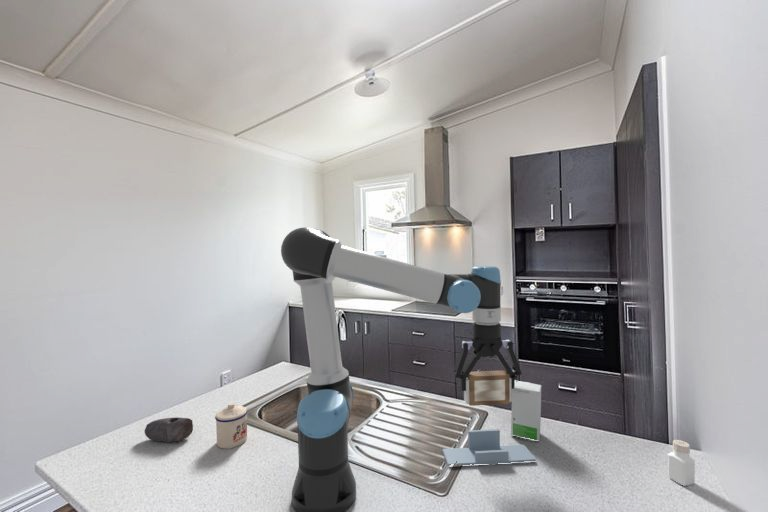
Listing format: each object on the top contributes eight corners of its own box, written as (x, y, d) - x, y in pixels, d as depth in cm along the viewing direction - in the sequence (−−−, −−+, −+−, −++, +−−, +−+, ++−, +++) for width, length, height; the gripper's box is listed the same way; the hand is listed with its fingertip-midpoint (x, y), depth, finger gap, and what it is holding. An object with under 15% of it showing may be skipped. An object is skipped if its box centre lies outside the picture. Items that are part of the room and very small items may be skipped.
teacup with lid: (237, 450, 104) (236, 411, 103) (209, 448, 105) (208, 410, 105) (257, 429, 116) (256, 394, 115) (232, 427, 117) (231, 393, 117)
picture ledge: (448, 467, 94) (448, 445, 94) (442, 452, 101) (442, 431, 101) (535, 462, 95) (535, 441, 95) (524, 448, 102) (523, 427, 102)
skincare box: (510, 436, 109) (510, 386, 108) (513, 426, 114) (513, 379, 114) (540, 443, 105) (539, 391, 104) (541, 432, 111) (541, 383, 110)
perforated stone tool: (138, 443, 109) (138, 421, 108) (152, 434, 114) (151, 413, 114) (183, 446, 107) (183, 423, 107) (195, 436, 112) (194, 415, 112)
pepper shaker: (684, 487, 85) (684, 449, 85) (666, 477, 89) (666, 440, 88) (695, 484, 86) (696, 446, 86) (678, 474, 90) (678, 437, 89)
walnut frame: (470, 405, 95) (469, 376, 95) (466, 400, 99) (465, 371, 99) (509, 404, 96) (509, 375, 96) (504, 398, 100) (504, 370, 99)
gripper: (447, 326, 93) (449, 409, 93) (534, 323, 94) (535, 405, 94) (441, 320, 100) (442, 396, 101) (522, 318, 101) (522, 393, 102)
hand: (487, 400), depth 98 cm, fingers closed on walnut frame, 11 cm apart
